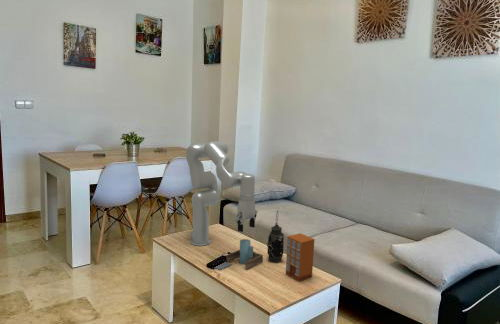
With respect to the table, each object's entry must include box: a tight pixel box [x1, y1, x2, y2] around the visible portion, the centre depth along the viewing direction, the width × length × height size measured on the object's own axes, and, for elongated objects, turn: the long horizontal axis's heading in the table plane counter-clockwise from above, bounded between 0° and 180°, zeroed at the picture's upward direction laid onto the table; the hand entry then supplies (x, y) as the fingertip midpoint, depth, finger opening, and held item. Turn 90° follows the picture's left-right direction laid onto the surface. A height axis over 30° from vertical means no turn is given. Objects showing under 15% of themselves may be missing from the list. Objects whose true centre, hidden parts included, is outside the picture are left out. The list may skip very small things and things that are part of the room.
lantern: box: [266, 210, 285, 263], centre depth 209 cm, size 10×9×28 cm
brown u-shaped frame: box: [225, 249, 264, 271], centre depth 206 cm, size 14×14×4 cm
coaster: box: [213, 261, 233, 271], centre depth 201 cm, size 9×9×1 cm
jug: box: [238, 238, 254, 265], centre depth 205 cm, size 8×6×12 cm
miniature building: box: [285, 232, 316, 282], centre depth 191 cm, size 10×9×20 cm
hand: (246, 229), depth 203 cm, fingers open, 9 cm apart
